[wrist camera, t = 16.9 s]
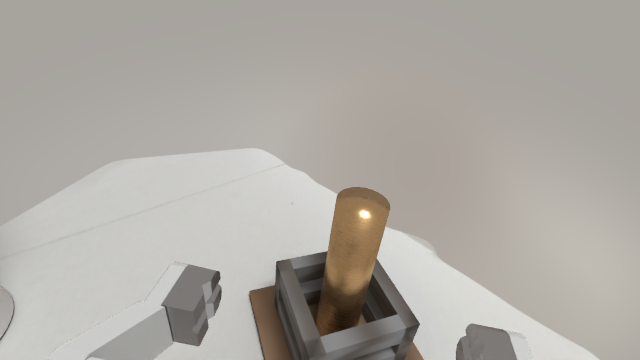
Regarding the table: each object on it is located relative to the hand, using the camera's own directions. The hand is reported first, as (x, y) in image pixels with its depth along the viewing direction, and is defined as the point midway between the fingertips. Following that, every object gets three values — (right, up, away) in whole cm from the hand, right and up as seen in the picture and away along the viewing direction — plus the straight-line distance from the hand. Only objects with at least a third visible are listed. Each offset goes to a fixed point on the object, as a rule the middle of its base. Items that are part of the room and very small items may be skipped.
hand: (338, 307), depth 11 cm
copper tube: (+1, -13, +27) cm, 30 cm away
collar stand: (+1, -14, +27) cm, 31 cm away
